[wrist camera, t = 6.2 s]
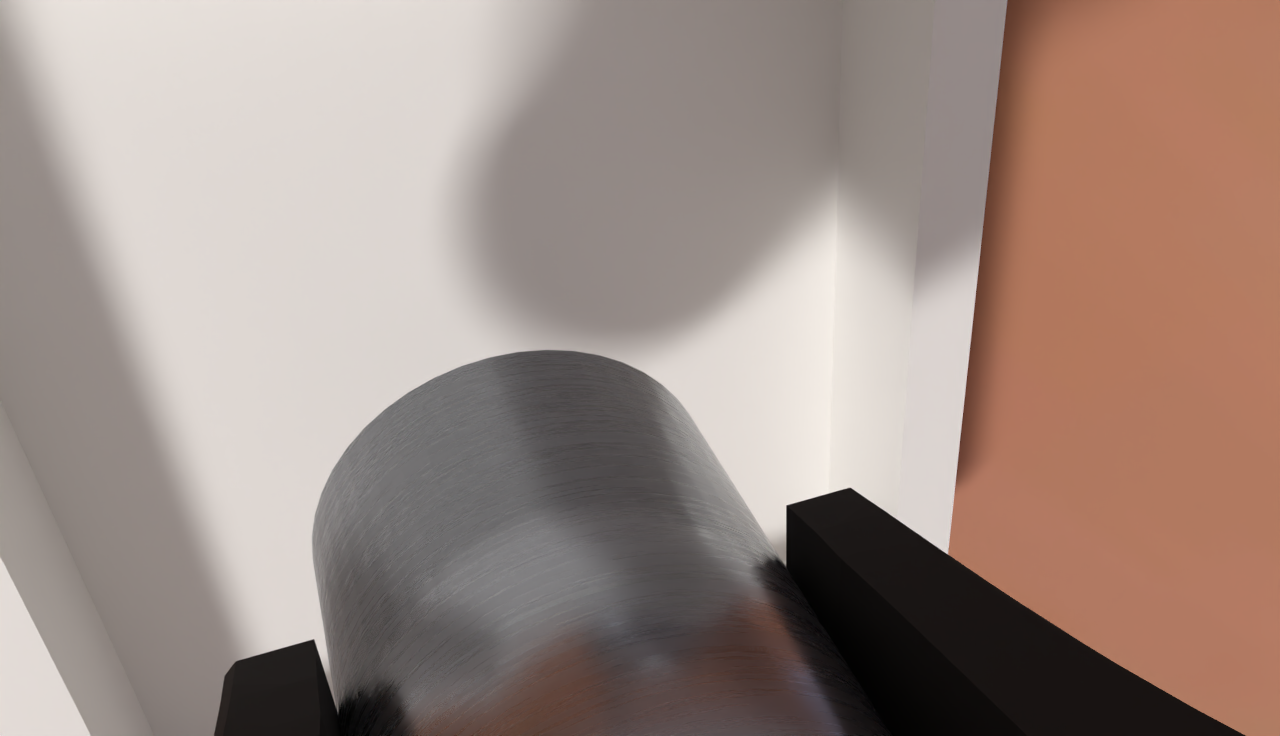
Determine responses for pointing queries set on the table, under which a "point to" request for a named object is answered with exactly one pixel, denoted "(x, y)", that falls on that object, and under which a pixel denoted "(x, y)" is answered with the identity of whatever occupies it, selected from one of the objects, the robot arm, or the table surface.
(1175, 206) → the table surface
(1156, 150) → the table surface
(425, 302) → the tray
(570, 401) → the cylinder
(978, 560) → the table surface
